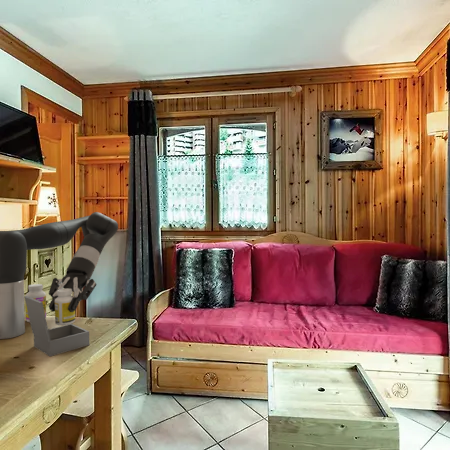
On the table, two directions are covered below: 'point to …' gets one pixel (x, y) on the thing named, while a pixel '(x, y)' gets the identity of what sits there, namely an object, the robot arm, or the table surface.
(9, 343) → the table surface
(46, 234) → the robot arm
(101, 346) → the table surface
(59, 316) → the supplement bottle
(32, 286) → the supplement bottle
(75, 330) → the mailer box
